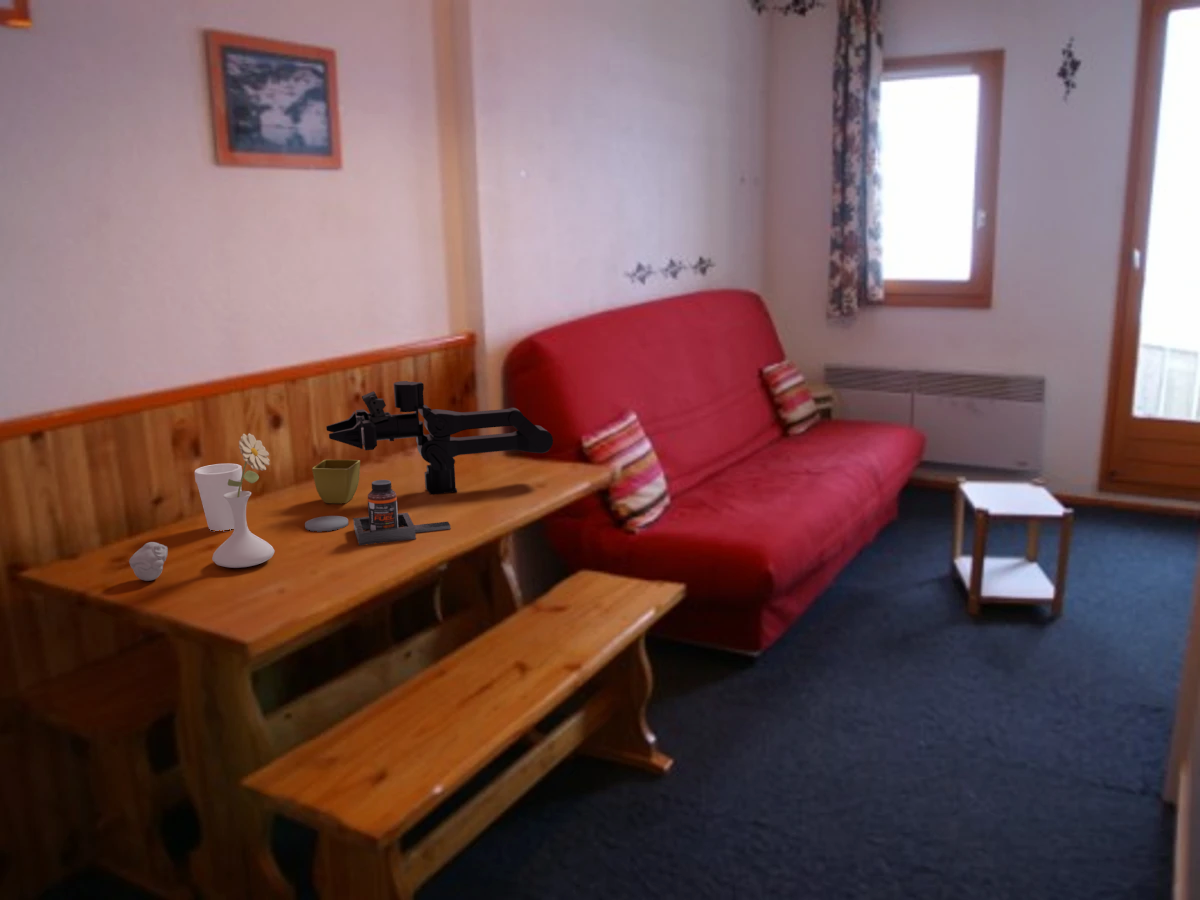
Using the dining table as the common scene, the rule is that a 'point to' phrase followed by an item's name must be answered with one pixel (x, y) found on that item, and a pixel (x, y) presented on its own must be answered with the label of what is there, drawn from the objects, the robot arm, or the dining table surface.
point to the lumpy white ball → (149, 561)
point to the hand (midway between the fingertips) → (327, 432)
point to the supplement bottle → (382, 506)
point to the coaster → (326, 523)
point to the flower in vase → (244, 514)
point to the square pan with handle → (393, 530)
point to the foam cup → (217, 493)
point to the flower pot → (336, 480)
